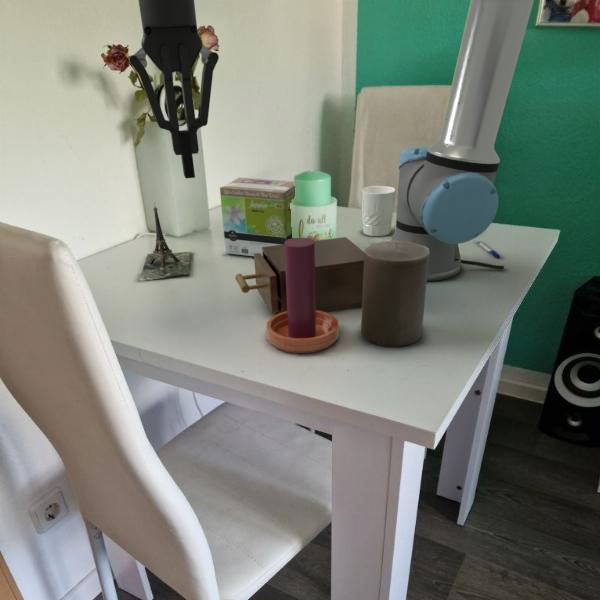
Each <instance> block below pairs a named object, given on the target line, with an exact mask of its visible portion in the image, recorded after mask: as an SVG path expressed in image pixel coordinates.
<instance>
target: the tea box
mask: <svg viewBox="0 0 600 600" xmlns="http://www.w3.org/2000/svg"><path fill="white" fill-rule="evenodd" d="M219 195H220V196H219V197H220V206H221V215H222V226H223V227H222V228H223V229H222V230H223V237H224V246H225V253H226V255H239V256H240V255H241V256H249V257H254V254H256V253H260V254H261V255H262V247H267V246H276V245H284V243H285V241H286V240H288V239H292V227H291V209H290V203H291V202H292V201H291V200H292V199H294V197H295V186H294V181H293V180H280V179H279V180H278V179H266V178H265V179H264V178H251V177H250V178H249V177H238V178H236V179H234V180H232V181H230V182H228V183H227V184H225V185H223V186H220V187H219ZM262 256H263V255H262Z"/></svg>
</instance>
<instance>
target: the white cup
mask: <svg viewBox="0 0 600 600" xmlns="http://www.w3.org/2000/svg"><path fill="white" fill-rule="evenodd" d="M396 192H397V191H396V188H395V187H392V186H388V185H387V186H386V185H371V186H366V187H363V188H362V189H361V218H362V219H361V221H362V232H363V234H364V235H366V236H369V237H384V236H388V235H390V234H391V232H392V225H393V224H392V222H393V217H394V210H395V201H396Z"/></svg>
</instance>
